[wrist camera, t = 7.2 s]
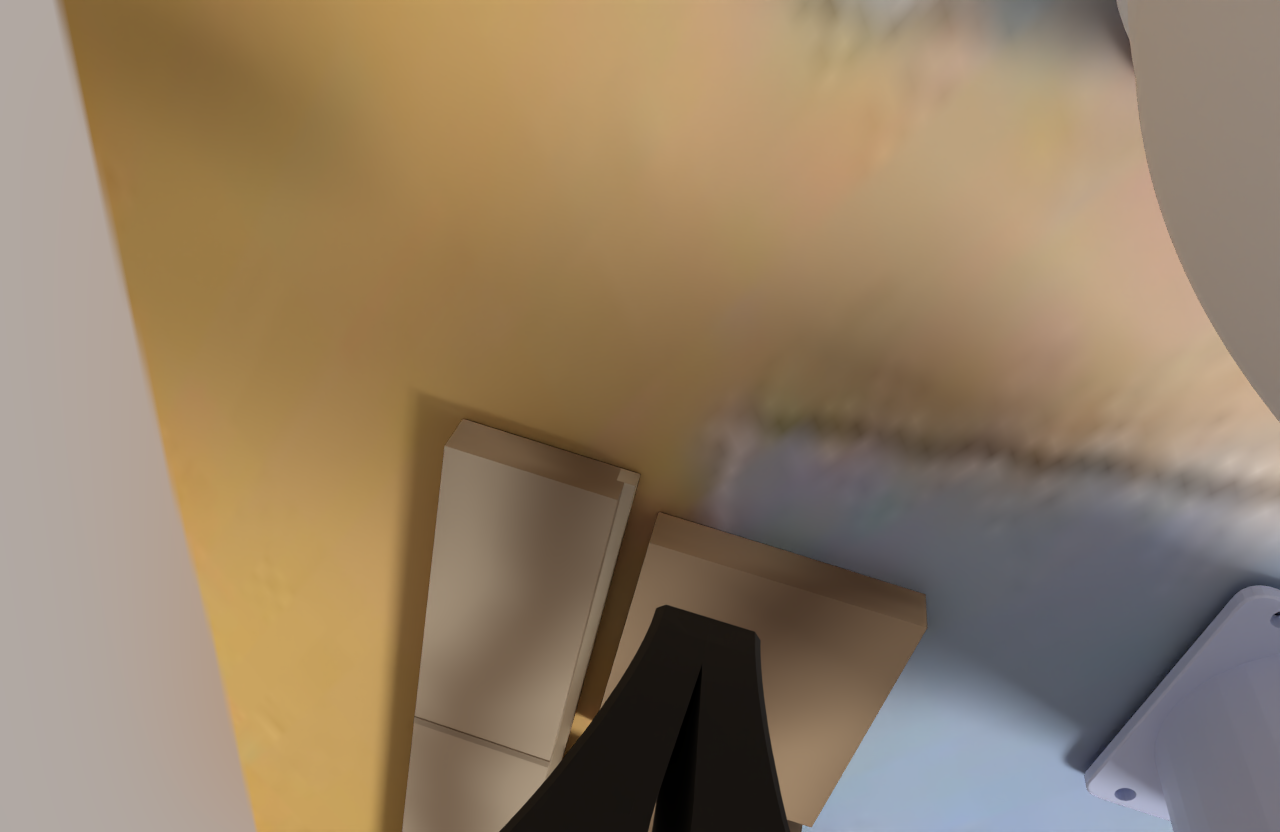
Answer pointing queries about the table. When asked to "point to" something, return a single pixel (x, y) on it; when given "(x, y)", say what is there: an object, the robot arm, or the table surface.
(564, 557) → the laid board
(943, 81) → the table surface
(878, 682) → the plank
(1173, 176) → the jar
